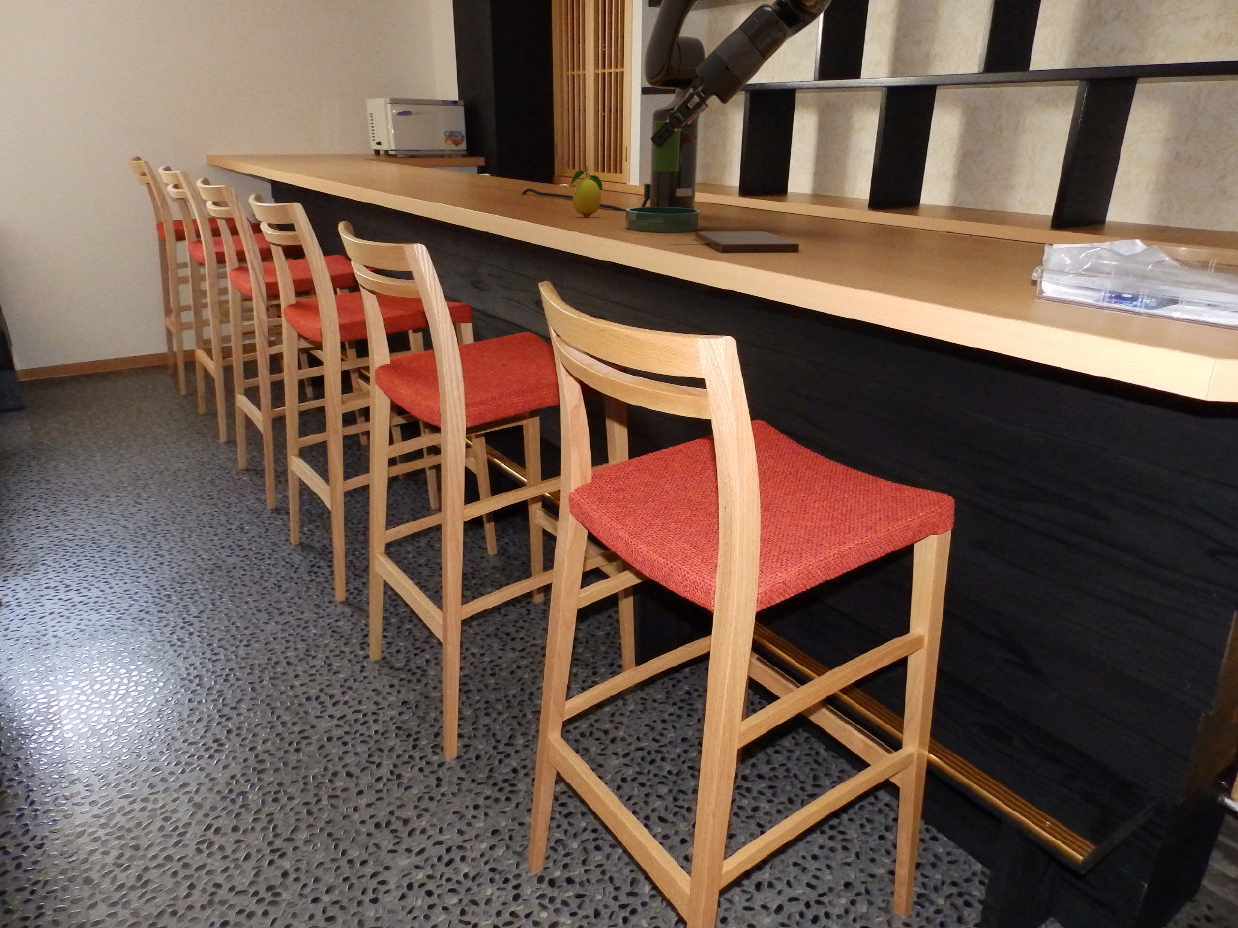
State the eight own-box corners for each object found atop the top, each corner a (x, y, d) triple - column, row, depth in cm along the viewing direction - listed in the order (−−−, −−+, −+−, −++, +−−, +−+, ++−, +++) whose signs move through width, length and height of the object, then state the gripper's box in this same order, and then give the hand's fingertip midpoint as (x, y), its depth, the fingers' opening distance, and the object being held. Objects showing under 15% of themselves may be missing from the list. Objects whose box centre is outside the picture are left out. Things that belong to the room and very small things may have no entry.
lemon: (570, 220, 164) (570, 165, 160) (568, 217, 169) (568, 164, 166) (605, 220, 165) (605, 166, 161) (601, 217, 170) (602, 164, 166)
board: (695, 239, 139) (695, 231, 139) (764, 238, 141) (765, 231, 140) (721, 252, 124) (721, 244, 124) (798, 252, 126) (799, 243, 126)
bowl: (620, 226, 154) (620, 207, 153) (689, 226, 156) (690, 207, 155) (632, 235, 143) (633, 213, 141) (707, 234, 145) (708, 213, 143)
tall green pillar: (650, 170, 147) (652, 121, 144) (675, 170, 148) (677, 121, 145) (655, 171, 143) (657, 121, 140) (681, 171, 144) (683, 121, 141)
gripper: (716, 51, 144) (644, 126, 150) (715, 44, 131) (636, 126, 137) (745, 86, 146) (672, 158, 151) (746, 82, 132) (667, 162, 138)
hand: (655, 143), depth 144 cm, fingers closed on tall green pillar, 4 cm apart
